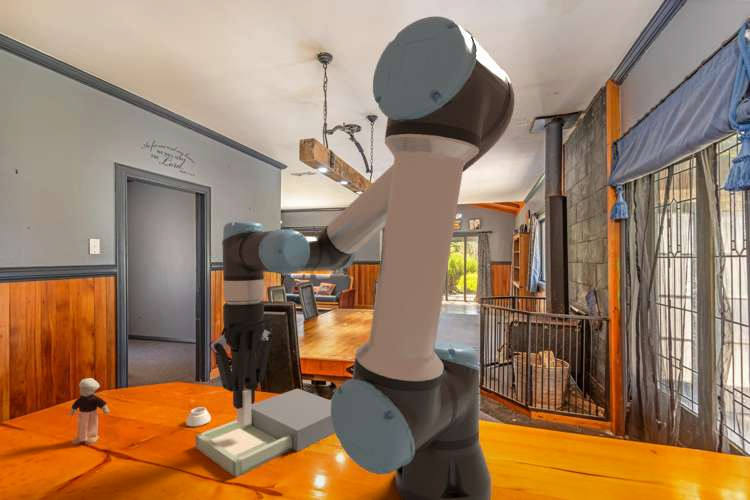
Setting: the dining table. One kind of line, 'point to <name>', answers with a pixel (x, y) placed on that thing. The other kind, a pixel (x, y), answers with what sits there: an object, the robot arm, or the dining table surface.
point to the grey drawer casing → (294, 417)
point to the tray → (247, 461)
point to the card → (238, 442)
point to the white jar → (198, 417)
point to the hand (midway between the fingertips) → (244, 422)
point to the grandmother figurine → (88, 412)
